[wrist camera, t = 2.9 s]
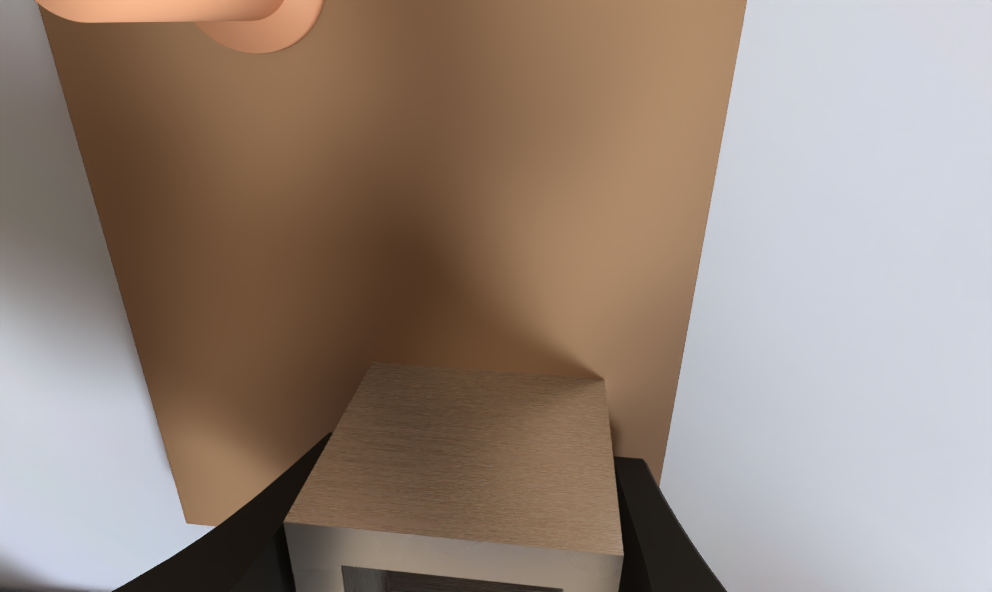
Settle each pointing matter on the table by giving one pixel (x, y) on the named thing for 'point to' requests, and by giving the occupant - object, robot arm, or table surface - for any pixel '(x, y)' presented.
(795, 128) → the table surface
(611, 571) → the collar
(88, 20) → the post
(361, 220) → the board
